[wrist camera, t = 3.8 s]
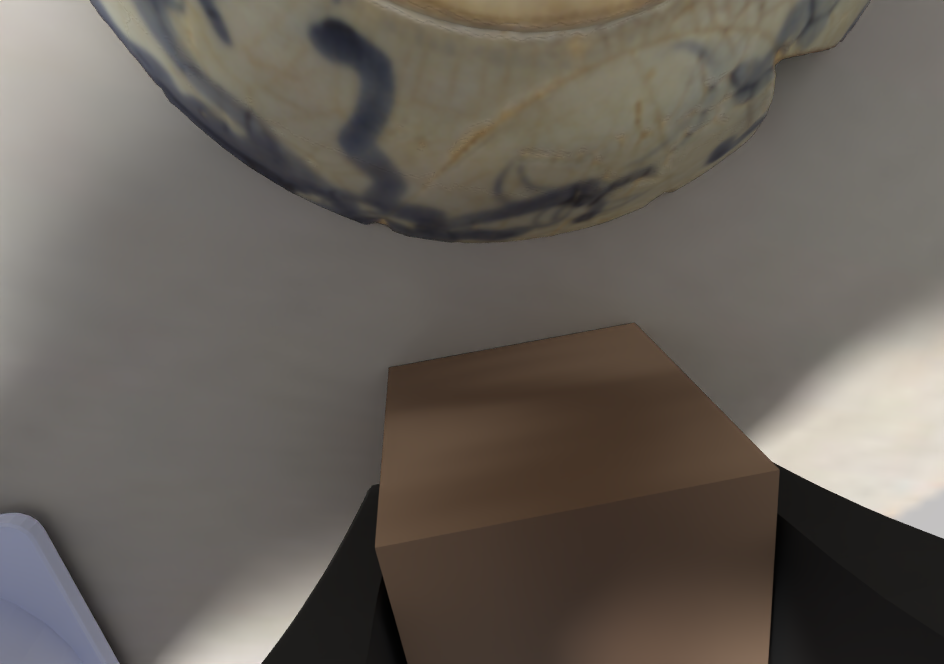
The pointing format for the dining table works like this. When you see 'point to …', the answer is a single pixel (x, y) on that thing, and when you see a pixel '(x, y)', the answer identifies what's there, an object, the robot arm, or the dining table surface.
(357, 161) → the decorative bowl
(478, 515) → the walnut block
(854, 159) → the dining table surface
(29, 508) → the dining table surface
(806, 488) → the robot arm
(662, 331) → the dining table surface
